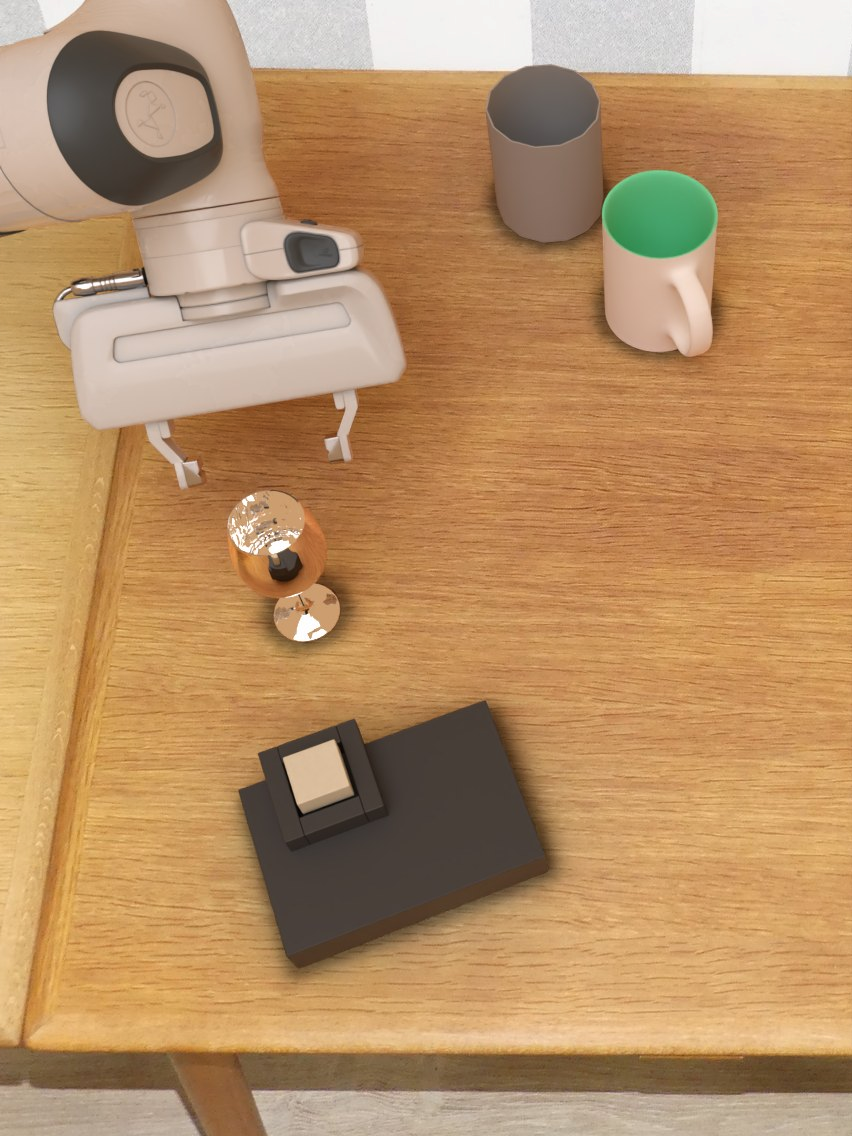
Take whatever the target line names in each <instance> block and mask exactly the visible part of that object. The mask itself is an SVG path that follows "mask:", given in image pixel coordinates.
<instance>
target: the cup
mask: <svg viewBox="0 0 852 1136" xmlns="http://www.w3.org/2000/svg"><path fill="white" fill-rule="evenodd" d="M484 111H485V117H486V118H485V119H486V127H487V135H488V142H489V150H490V159H491V166H492V167H491V168H492V175H493V183H494V190H495V201H496V208H497V210H498V212H499V215H500V217H501V219H502V222H503V224H504V225H505V226H507V227H508V228H509V229H511V230H512V231H513V232H514V233H515V234H517V235H518V236H519V237H521V238H525V239H527V240H532V241H535V242H538V243H555V242H556V243H558V242H567V241H570V240H572V239H574V238H576V237H577V236H580V235H582V234H585V233H586V232H588V231H589V230H590V229H591V228H592V226H593V225H594V224H595V223H596V222H597V220H598V219H599V218H600V217H601V216H602V208H603V204H604V170H603V169H604V167H603V164H604V163H603V138H602V137H603V132H602V131H603V129H602V100H601V98H600V96H599V94H598V92H597V89H596V88H595V85H594V83H593V82H592V81H591V80H589V79H588V78H586V77H585V76H584V75H582V74H581V73H579V72H578V71H577V70H575V69H572V68H568V67H565V66H561V65H560V66H559V65H557V64H552V63H548V64H533V65H525V66H523V67H521V68H517V69H516V70H514V71H511V72H509V73H507V74H504V75H503V76H502V77H501V78H500V79H499V80H498V81H497V83H495V85H494V86H492V88H490V90H489V93H488V95H487V100H486V105H485V109H484Z"/></svg>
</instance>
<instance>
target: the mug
mask: <svg viewBox="0 0 852 1136" xmlns="http://www.w3.org/2000/svg"><path fill="white" fill-rule="evenodd" d="M717 206H718V205H717V203H716V200H715V198H714V197H713V195H712V194H711V192H710V191H709V190H708V189H707V188H706V187H705V185H703V184H702V183H701V182H699V181H698V180H697V179H695V178H694V177H691V176H689V175H686V174H685V173H682V172H677V171H672V170H665V169H653V170H652V169H651V170H645V171H640V172H637V173H635V174H632V175H629V176H627V177H625V178H624V179H622V180H620V181H619V182H618V183H616V185H614V186H613V187H612V188H611V189H610V191H608V194H607V195H606V197H605V199H604V200H603V203H602V210H601V229H602V230H601V231H602V253H603V254H602V258H603V259H602V260H603V261H602V262H603V263H602V264H603V293H604V295H603V296H604V315H605V319H606V322H607V326H609V328H610V330H611V331H612V333H613V334H614V335H615V336H616V337H617V338H618V339H619V340H621V342H623V343H624V344H626V345H628V346H630V347H633V348H634V349H635V348H636V349H638V350H640V351H646V352H652V353H664V352H665V353H667V352H672V351H676V350H678V352H679V353H681V355H683V356H684V357H686V358H692V357H697V356H700V355H703V354H705V353H706V352H708V350H709V349H710V348H711V346H712V342H713V334H714V332H713V329H714V327H713V317H712V303H713V302H712V301H713V287H714V273H715V260H716V259H715V258H716V247H717V246H716V245H717V234H718V233H717V232H718V221H719V220H718V219H719V212H718V207H717Z"/></svg>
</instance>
